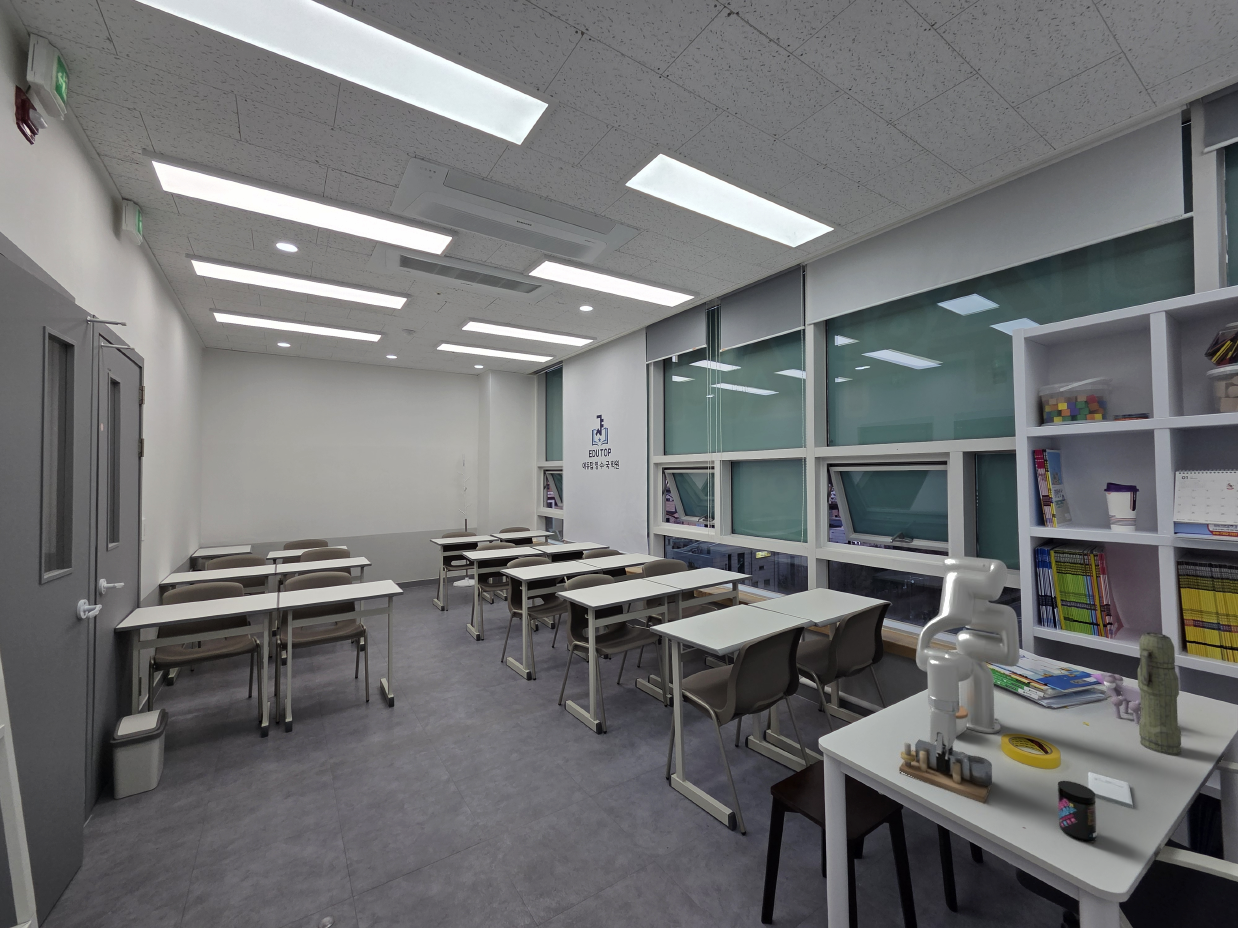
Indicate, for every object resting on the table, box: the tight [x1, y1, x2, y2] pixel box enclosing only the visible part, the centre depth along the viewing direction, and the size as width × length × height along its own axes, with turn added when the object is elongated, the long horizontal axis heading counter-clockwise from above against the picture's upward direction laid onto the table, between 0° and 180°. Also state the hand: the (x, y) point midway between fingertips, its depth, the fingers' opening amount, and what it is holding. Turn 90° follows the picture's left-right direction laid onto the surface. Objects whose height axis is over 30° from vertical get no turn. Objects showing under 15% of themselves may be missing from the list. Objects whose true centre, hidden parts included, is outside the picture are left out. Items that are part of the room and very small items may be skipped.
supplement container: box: [1057, 780, 1098, 843], centre depth 121 cm, size 7×7×10 cm
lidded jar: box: [929, 705, 968, 737], centre depth 170 cm, size 11×11×9 cm
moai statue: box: [1137, 631, 1182, 756], centre depth 159 cm, size 9×12×35 cm
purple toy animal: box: [1090, 671, 1141, 726], centre depth 180 cm, size 20×11×14 cm, turn 23°
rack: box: [898, 741, 992, 804], centre depth 144 cm, size 13×20×8 cm, turn 46°
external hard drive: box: [1087, 771, 1134, 810], centre depth 137 cm, size 2×8×12 cm
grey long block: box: [914, 739, 993, 786], centre depth 143 cm, size 6×18×5 cm, turn 46°
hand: (945, 767), depth 144 cm, fingers closed on grey long block, 4 cm apart
